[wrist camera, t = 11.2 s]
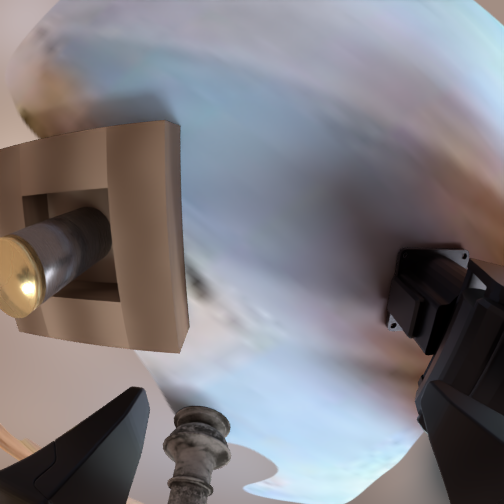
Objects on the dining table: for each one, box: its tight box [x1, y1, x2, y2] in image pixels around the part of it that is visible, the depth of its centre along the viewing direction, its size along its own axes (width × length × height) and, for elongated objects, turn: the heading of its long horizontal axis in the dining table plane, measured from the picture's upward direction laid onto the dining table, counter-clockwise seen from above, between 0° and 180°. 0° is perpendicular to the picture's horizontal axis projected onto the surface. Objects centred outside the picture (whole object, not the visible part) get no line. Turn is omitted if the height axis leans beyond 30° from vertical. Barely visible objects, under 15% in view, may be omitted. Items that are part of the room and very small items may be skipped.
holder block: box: [0, 120, 190, 354], centre depth 19 cm, size 14×14×4 cm
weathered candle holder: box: [163, 406, 231, 504], centre depth 20 cm, size 6×6×12 cm
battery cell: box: [0, 207, 112, 318], centre depth 16 cm, size 4×4×9 cm
